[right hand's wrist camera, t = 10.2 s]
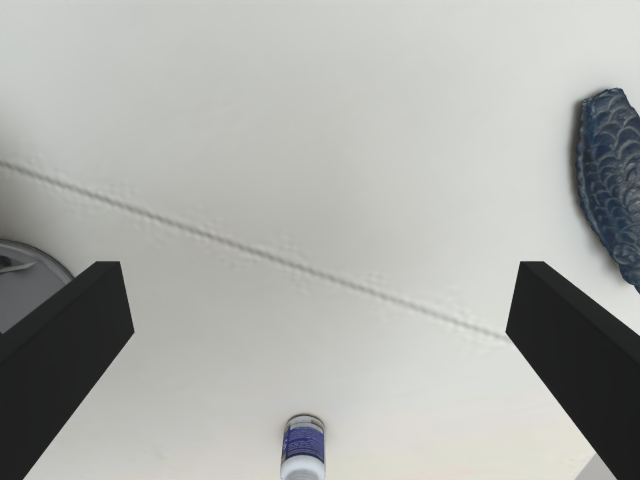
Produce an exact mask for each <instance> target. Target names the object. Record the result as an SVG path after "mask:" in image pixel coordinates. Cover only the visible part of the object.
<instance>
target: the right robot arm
mask: <svg viewBox="0 0 640 480" xmlns="http://www.w3.org/2000/svg"><path fill="white" fill-rule="evenodd" d="M133 334H134V327H133V322H132V318H131V313H130V308H129V303H128V299H127V294H126V289H125V284H124V279H123V275H122V270H121V265H120V261H96V262H95V263H94V264H92V265H91V266H90V267H88V268H87V269H86V270H85V271H83V272H82V273H81V274H79V275H78V276H77V277H76V278H73V277H72V276H71V275H70V274H69V273H68V272H67V271H66V269H65V268H64V267H62V266H61V265H60V264H59V263H58V262H56V261H55V260H54V259H52V258H51V257H49V256H48V255H46V254H45V253H43V252H41V251H39V250H37V249H35V248H33V247H30V246H28V245H25V244H22V243H18V242H14V241H8V240H0V480H23V479H24V477H25V476H26V475H27V473H28V472H29V471H30V469H31V468H32V467H33V466H34V464H35V463H36V462H37V460H38V459H39V458H40V456H41V455H42V454H43V452H44V451H45V450H46V448H47V447H48V446H49V444H50V443H51V442H52V440H53V439H54V438H55V437H56V435H57V434H58V433H59V431H60V430H61V429H62V427H63V426H64V425H65V423H66V422H67V421H68V419H69V418H70V417H71V415H72V414H73V413H74V411H75V410H76V409H77V408H78V406H79V405H80V404H81V402H82V401H83V400H84V398H85V397H86V396H87V394H88V393H89V392H90V390H91V389H92V388H93V386H94V385H95V384H96V382H97V381H98V380H99V379H100V377H101V376H102V375H103V373H104V372H105V371H106V369H107V368H108V367H109V365H110V364H111V363H112V361H113V360H114V359H115V357H116V356H117V355H118V353H119V352H120V351H121V350H122V348H123V347H124V346H125V344H126V343H127V342H128V340H129V339H130V338H131V336H132V335H133ZM506 334H507V335H508V336H509V338H510V339H511V340H512V342H513V343H514V344H515V346H516V347H517V348H518V350H519V351H520V352H521V353H522V355H523V356H524V357H525V359H526V360H527V361H528V363H529V364H530V365H531V367H532V368H533V369H534V371H535V372H536V373H537V375H538V376H539V377H540V379H541V380H542V381H543V382H544V384H545V385H546V386H547V388H548V389H549V390H550V392H551V393H552V394H553V396H554V397H555V398H556V400H557V401H558V402H559V404H560V405H561V406H562V408H563V409H564V410H565V411H566V413H567V414H568V415H569V417H570V418H571V419H572V421H573V422H574V423H575V425H576V426H577V427H578V429H579V430H580V431H581V433H582V434H583V435H584V437H585V438H586V439H587V440H588V442H589V443H590V444H591V446H592V447H593V448H594V450H595V451H596V452H597V454H598V455H599V456H600V458H601V459H602V460H603V462H604V463H605V464H606V466H607V467H608V468H609V469H610V471H611V472H612V473H613V475H614V476H615V477H616V479H617V480H640V336H639V335H638V334H637V333H635V332H634V331H633V330H631V329H630V328H629V327H628V326H626V325H625V324H624V323H622V322H621V321H620V320H619V319H617V318H616V317H615V316H613V315H612V314H611V313H610V312H608V311H607V310H606V309H604V308H603V307H602V306H600V305H599V304H598V303H597V302H595V301H594V300H593V299H591V298H590V297H589V296H588V295H586V294H585V293H584V292H582V291H581V290H580V289H579V288H577V287H576V286H575V285H573V284H572V283H571V282H570V281H568V280H567V279H566V278H564V277H563V276H562V275H561V274H559V273H558V272H557V271H555V270H554V269H553V268H552V267H550V266H549V265H548V264H546V263H545V262H544V261H520V265H519V270H518V275H517V279H516V284H515V289H514V294H513V299H512V303H511V308H510V313H509V318H508V322H507V327H506Z"/></svg>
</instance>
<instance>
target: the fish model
mask: <svg viewBox="0 0 640 480" xmlns="http://www.w3.org/2000/svg"><path fill="white" fill-rule="evenodd" d="M581 109H582V115H581V117H580V120H581V127H580V130H579V133H578V135H579V138H580V139H579V142H578V144H577V148H576V153H577V155H578V156H577V159H576V165H575V167H576V168H577V171H578V173H577V181H578V183H579V186H578V191H579V196H580V197H581V204H580V206H581V208H582V209H583V210H584V211H585V217H586V219H587V220H588V221H589V222H590V223H591V224H592V229H593V231H595V232H596V234H597V235H598V236H599V238H600V240H601V242H602V243H603V246H605V247H606V248H607V250H608V251H609V254H610V256H611V257H612V258H613V259H614V260H615V261H616V262H617V263H618V264H619V267H620V271H621V274H622V276H623V279H624V280H625V281H626V282H628V283H629V284H631V285H634V287H635V288H636V290H637V291H638V293H639V294H640V117H639V115H638V113H637V112H636V111H635V109H634V108H633V107H631V106H630V104H629V102H628V100H627V97H626V95H625V94H624V92H623V90H622V89H620V88H613V89H610V90H608V89H607V90H604V91H603V92H601V93H599V94H598V95H596V96H595V97H594V98H589V99H584V100H583V103H582V108H581Z"/></svg>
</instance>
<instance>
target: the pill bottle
mask: <svg viewBox="0 0 640 480" xmlns="http://www.w3.org/2000/svg"><path fill="white" fill-rule="evenodd" d="M325 476H326V460H325V428H324V426H323V424H322V423H321V422H320V421H319V420H317V419H316V418H313V417H310V416H299V417H296V418H294V419H292V420H290V421H289V422H288V423H287V425H286V427H285V430H284V439H283V448H282V457H281V468H280V477H281V480H325Z"/></svg>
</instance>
